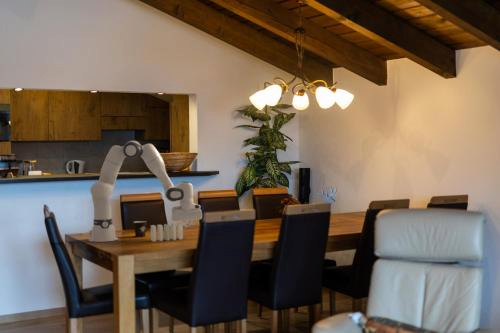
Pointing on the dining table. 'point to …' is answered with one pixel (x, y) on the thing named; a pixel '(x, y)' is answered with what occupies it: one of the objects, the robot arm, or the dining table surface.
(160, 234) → the domino
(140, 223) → the coffee mug
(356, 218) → the dining table surface
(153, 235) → the domino
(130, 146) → the robot arm
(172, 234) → the domino
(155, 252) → the dining table surface
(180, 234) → the domino
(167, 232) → the domino
